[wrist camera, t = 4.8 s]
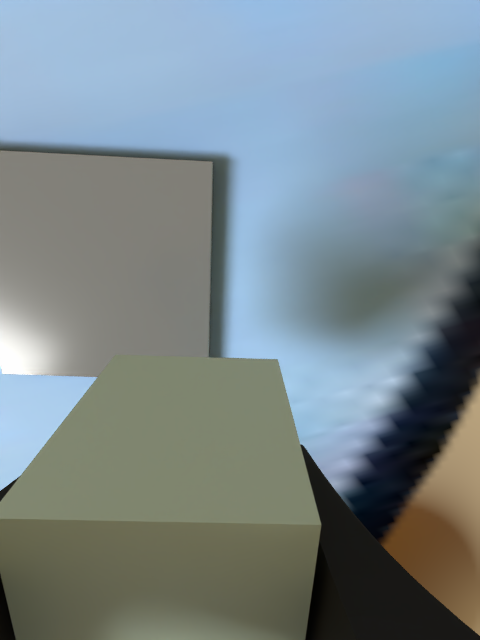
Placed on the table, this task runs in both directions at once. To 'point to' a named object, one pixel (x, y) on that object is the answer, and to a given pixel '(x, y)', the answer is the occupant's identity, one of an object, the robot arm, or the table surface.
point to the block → (165, 510)
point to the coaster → (102, 260)
